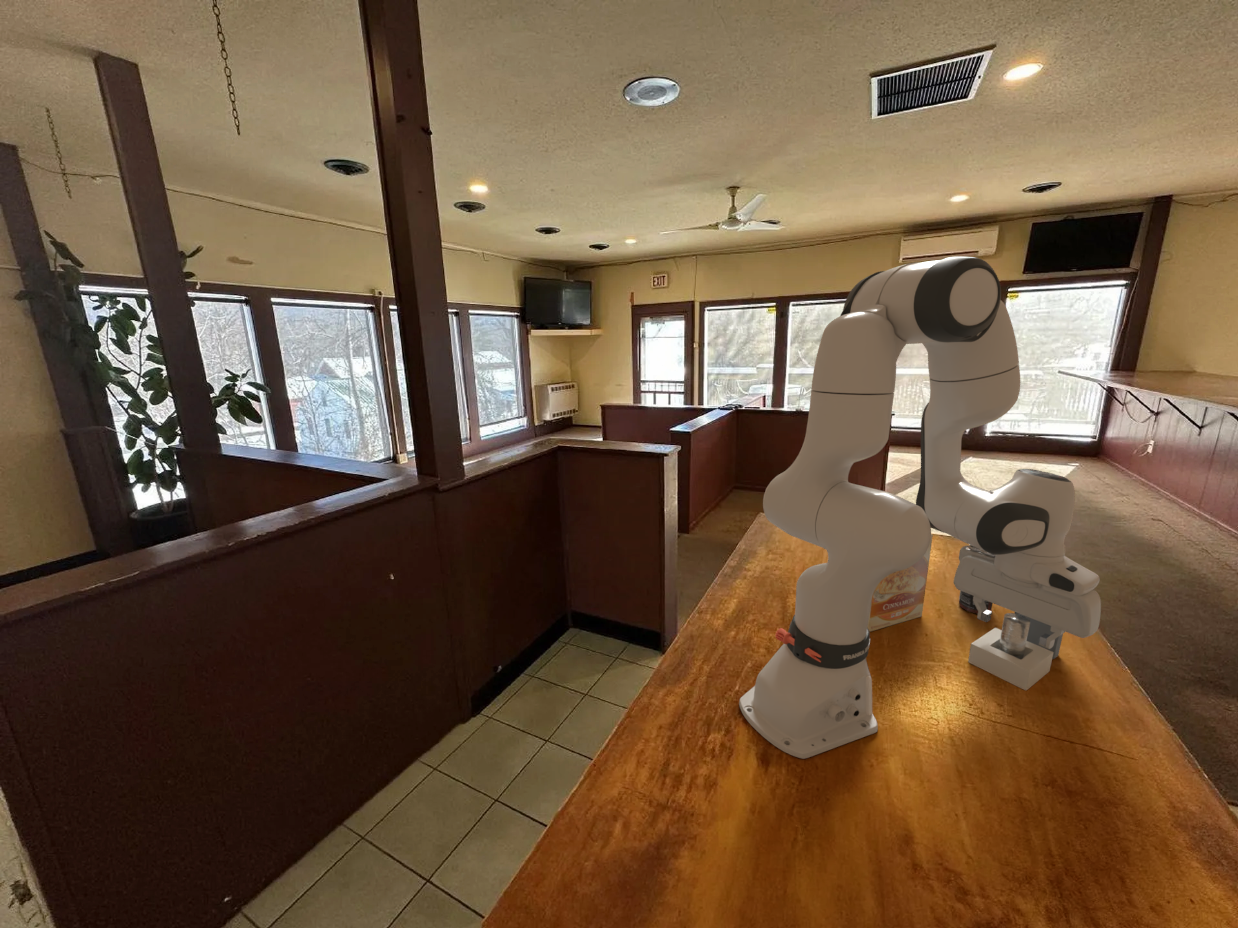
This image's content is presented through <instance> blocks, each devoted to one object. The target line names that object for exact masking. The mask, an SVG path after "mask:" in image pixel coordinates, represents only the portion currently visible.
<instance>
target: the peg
mask: <svg viewBox="0 0 1238 928" xmlns="http://www.w3.org/2000/svg"><path fill="white" fill-rule="evenodd" d="M1029 626H1030V620H1029V619H1028V618H1026V617H1024V616H1022V615H1019V614H1015V612H1007V613H1004V616H1003V620H1002V626H1001V630H1002V632H1001V637H1000V643H999V648H998V649H999V650H1001V651H1003V652H1005V653H1007V654H1010V655H1012V656H1014V657H1016V658H1018V659H1023V657H1024V651H1025V646H1026V641H1027V636H1028V631H1029Z"/></svg>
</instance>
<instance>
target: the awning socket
mask: <svg viewBox="0 0 1238 928" xmlns="http://www.w3.org/2000/svg"><path fill="white" fill-rule="evenodd" d="M1014 613H1015V614H1019V613H1017V612H1014ZM1019 615H1022V614H1019ZM1022 616H1024V615H1022ZM1024 617H1026V618H1028V619H1029V620H1030V626H1029V631H1028V636H1027V641H1026V646H1025V651H1024V657H1023V659H1018V658H1016V657H1014V656H1012V655H1010V654H1007V653H1005V652H1003V651H1001V650H999V649H998V648H999V643H1000V637H1001V632H1002V629H1000V628H998V627H994V628H993V629H991V630H989V631H988V632H986V633H985V634H983V635H982V636H981V637H979V638H977V639H976V640H974V641H973V642H971V644H970V649H969V656H968V660H967V662H968V663H969V664H971V665H973V666H975V667H977V668H980V669H982V670H984V671H985V672H988V673H990V674H991V675H993V676H995V677H997V678H999V679H1002V680H1003V681H1005V682H1008V683H1010V684H1011V685H1013V686H1016V687H1018V688H1019V689H1022V690H1024V691H1027V690H1030V688H1031V687H1032V686H1034V685H1035V684H1036V683H1037V682H1038V681H1039V680H1041V679H1042V678H1043V677H1045V675H1047V674H1048V673H1049V672H1050V671H1051V667H1052V660H1054V659H1056V658H1057V657H1058V656H1059V655H1060V649H1061V644H1062V640H1063V636H1064V633H1063V634H1062V635H1060V636H1059V637H1057V638H1056V639H1055V642H1054V645H1053V647H1052V648H1050V649H1048V648H1046V647H1043V646H1041V645H1039V642H1040V636H1042V635H1043V634H1045V633H1046V634H1048V635H1052V634H1053V633H1055V632H1051V631H1050V630H1051V626H1050V625H1047V624H1045V623H1042V622H1040V621H1037V620H1034V619H1032V618H1029V617H1027V616H1024Z"/></svg>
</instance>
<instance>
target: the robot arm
mask: <svg viewBox="0 0 1238 928" xmlns="http://www.w3.org/2000/svg"><path fill="white" fill-rule="evenodd" d="M1001 299H1002V288H1001V282H1000V279H999V277H998V275H997V273H996V272H995V270H994V268H993V267H992V266H991V265H990V264H989V263H988V262H987V261H985V260H984V259H981V258H979V257H973V256H963V255H962V256H948V257H945V258H943V259H938V260H929V261H922V262H918V261H917V262H916V261H915V262H909V263H906V264H902V265H899V266H896V267H895V266H894V267H893V268H889V269H887V270H881V271H877V272H874V273H872V274H870V275H868V276H866V277H864V278H863V279H862V280H859V281H858V282H857V283H856V284H855V285H854V286H853V288H852V289H851V290H850V291H849V293H848V295H847V296H846V300H845V301H844V305H843V307H842V308H843V309H842V311H841V313H840V316H838V317H836V318H834V319H832V320H831V321H830V322H829V323H828V324H827V325H826V327H825V328H824V330H823V332H822V335H821V339H820V341H819V346H818V349H817V353H816V357H815V362H814V367H813V371H812V372H813V373H812V380H811V387H810V389H811V390H810V391H811V392H810V401H809V409H808V410H809V411H808V416H807V417H808V418H807V424H806V430H805V437H804V440H803V443H802V447H801V449H800V451H799V453H798V455H797V456H796V458H795V460H793V462H792V464H790V466H788V468H787V469H786V470H785V471H783V472H781V473H780V474H777V475H776V476H775V477H774V478H773V479H772V480H771V481H770V482H769V484H768V485H767V487H766V488H765V492H764V493H763V499H762V507H763V512H764V516H765V518H766V519H767V521H768V522H769V523H771V524H772V525H773V526H775V527H776V528H778V529H780V530H781V531H783V532H784V533H786V534H788V535H789V536H791V537H793V538H797V539H799V540H801V541H804V542H807V543H810V544H812V545H815V546H817V547H820V548H823V550H826V552H827V562H823V563H818V564H815V565H812V566H809V567H808V568H806V569H805V570H804V571H803V572H802V573H801V575H800V576H799V577H798V579H797V581H796V589H795V590H796V591H795V607H794V608H795V609H794V615H793V617H792V619H791V621H790V624H789V628H788V631H787V630H786V629H784V628H782V627H779V628H778V629H777V630H776V632H775V639H776V640H778V641H779V642H782V643H783V644H782V645H781V646H780V648H778V650H777V651H776V652H775V653H774V655H772V657H771V658H770V659H769V661H768V662H767V663H766V664H765V666H764V667H762V669H761V670H760V671H759V673H758V674H757V677H756V680H755V684H754V686H752V687H751V688H750V689H749V690H748V691H747V692H745V693H744V694H743V695H742V696H741V697H740V698H739V702H738V705H739V709H740V711H741V713H742V715H743V716H744V718H745V719H746V721H747V722H748V723H749V724H750V725H751V727H752V728H753V729H754V730H756V732H757V733H758V734H760V735H761V736H762V737H763V738H764V739H765V740H766V741H768V742H769V743H770V744H772V745H773V746H774V747H776V748H778V749H779V750H780V751H782V752H784V753H786V754H788V755H791V756H793V757H796V758H799V759H803V760H804V759H808V758H810V757H811V758H812V757H814V756H816V755H819V754H823V753H824V752H827V751H830V750H832V749H835V748H837V747H840V746H844V745H846V744H849V743H851V742H855V741H856V740H859V739H862V738H864V737H867V736H870V735H873V734H875V733H877V732H878V730H879V729H878V728H879V726H878V721H877V719H876V717H875V716H874V714H873V680H872V679H873V678H872V676H871V673H870V669H869V666H868V662H867V657H868V656H869V648H870V646H871V644H870V643H871V638H870V636H871V634H870V632H869V629H868V619H869V611H870V605H871V601H872V596H873V593H874V591H875V589H876V587H877V585H878V584H879V583H880V581H881V580H883V579H884V578H885V577H886V576H888V575H890V574H892V573H894V572H897V571H901V570H904V569H906V568H909V567H911V566H912V565H914V564H915V563H917V562H918V561H919V560H920V559H921V558H922V557H923V556H924V554H925V553H926V551H927V549H928V547H929V544H930V540H931V534H932V529H934V530H935V531H938V532H941V533H944V534H946V535H949V536H951V537H953V538H955V539H957V540H958V541H961V542H962V543H965V544H968V545H964V546H962V547H961V548H960V550H959V554H958V560H959V563H958V566H957V568H956V570H955V574H954V577H953V585H954V586H955V588H956V590H958V591H963V592H965V593H968V594H971V595H973V596H974V597H973V602H974V604H975V606H976V608H977V610H978V614H977V617H976V618H977V619H978V620H980V621H983V622H985V623H988V622H990V621H991V619H992V615H993V614H992V613H993V612H992V610H991V611H989V610H987V608H986V605H985V602H984V601H988V602H991V603H993V604H994V605H997V606H999V607H1002V608H1004V609H1006V610H1009V611H1011V612H1013V613H1015V612H1017V613H1019V614H1022V615H1024V616H1027V617H1029V618H1032V619H1034V620H1037V621H1040V622H1042V623H1045V624H1047V625H1050V626H1051V630H1050V631H1051V632H1055V633H1053V634H1052V635H1048V634H1046V633H1045V634H1043V635H1042V636H1040V642H1039V645H1041V646H1043V647H1046V648H1048V649H1050V648H1052V647H1053V645H1054V642H1055V639H1056V638H1057V637H1059V636H1060V635H1062V634H1063V635H1064V633H1068V634H1070V635H1073V636H1076V637H1078V638H1081V639H1085V638H1088V637H1090V636H1093V635H1094V634H1095V633H1096V632H1097V631H1098V629H1099V626H1100V622H1101V620H1100V619H1101V614H1102V612H1101V611H1102V600H1101V597H1100V594H1099V593H1098V592H1097V591H1096V590H1095V588H1097V587H1098V585H1099V583H1100V580H1101V579H1100V576H1099V575H1098V574H1097V573H1096V572H1094V571H1092V570H1090V569H1088V568H1087V567H1084V566H1083V565H1081V564H1079V563H1077V562H1076V561H1074V560H1072V559H1071V558H1069V557H1068V556H1066V555H1065V554H1066V545H1065V538H1066V536H1067V534H1068V533H1069V532H1070V529H1071V525H1072V521H1073V517H1074V512H1075V501H1076V494H1075V492H1076V491H1075V486H1074V484H1073V482H1072V481H1071V480H1069V479H1068V478H1067V477H1065V476H1063V475H1059V474H1055V473H1051V472H1048V471H1042V470H1039V469H1038V470H1037V469H1032V468H1031V469H1030V468H1020V469H1017V470H1015V472H1014V474H1013V476H1012V478H1011V479H1010V480H1009V481H1007V482H1006V483H1005V484H1003V485H1000V486H999V487H996V488H994V489H990V490H988V489H985V488H982V487H979V486H976V485H973V484H972V483H970V482H968V480H967V479H965V477H964V476H963V475H962V472H961V465H962V464H961V463H962V462H961V461H962V459H961V458H962V438H963V435H964V433H965V431H966V430H971V429H974V428H978V427H981V426H983V425H987V424H990V423H992V422H994V421H997V420H999V419H1000V418H1002V417H1003V416H1005V415H1006V414H1007V413H1008V412H1009V411H1010V410H1012V408H1013V407H1014V405H1015V404H1016V403H1017V401H1018V399H1019V395H1020V392H1021V370H1020V360H1019V351H1018V345H1017V340H1016V336H1015V330H1014V325H1013V323H1012V321H1011V316H1010V313H1009V311H1008V309H1007V305H1006V304H1005V303H1004V302H1003V300H1001ZM912 344H913V345H915V344H922V345H923V346H924V348H925V350H926V352H927V366H928V367H927V368H928V377H929V385H930V386H929V387H930V388H929V389H930V390H929V391H930V392H929V393H930V394H929V400H928V402H927V404H926V405H925V406H924V409H923V412H922V414H921V415H922V416H921V422H920V423H921V424H920V481H919V487H918V491H917V495H916V499H915V503H914V502H911V501H910V500H908V499H906V498H903V497H901V496H899V495H896V494H894V493H892V492H889V491H884V490H881V489H876V488H872V487H868V486H863V485H859V484H855V483H851V482H849V474H850V471H851V468H852V466H853V465H854V463H857V462H860V461H863V460H866V459H869V458H871V457H873V456H875V455H877V454H878V453H880V452H881V451H882V450H883V449H884V447H885V446H886V444H887V443H888V440H889V435H890V429H891V421H892V411H893V404H894V396H895V389H896V388H895V387H896V382H897V381H896V378H897V377H896V376H897V361H898V360H899V357H900V355H901V353H902V351H903V349H904V348H905V346H906V345H912Z"/></svg>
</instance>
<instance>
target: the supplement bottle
mask: <svg viewBox="0 0 1238 928" xmlns="http://www.w3.org/2000/svg"><path fill="white" fill-rule="evenodd" d="M959 591H960V590H959ZM973 597H974V596H973V595H971V594H968V593H965V592H963V591H960V592H959V596H958V605H959V606H960V608H962V609H963V610H965V611H967V612H970V613H974V614H977V615H978V610H977V608H976V606H975V604H974V602H973ZM984 602H985V605H986V608H987V610H989V611H991V612H992V608H993V604H994V603H991V602H988V601H984Z"/></svg>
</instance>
